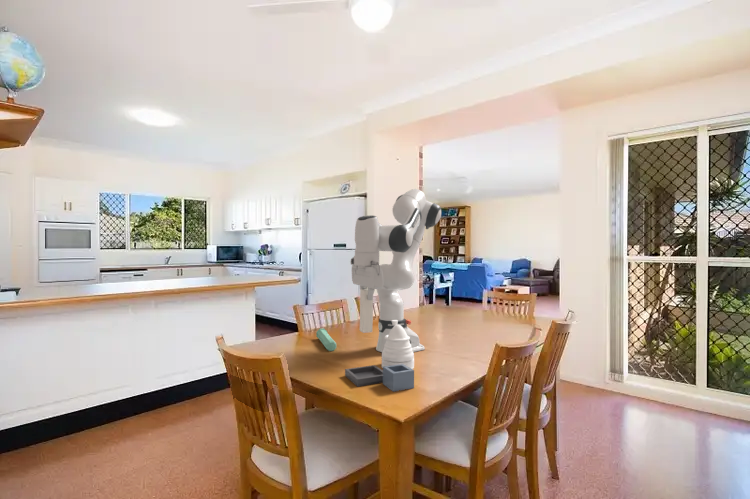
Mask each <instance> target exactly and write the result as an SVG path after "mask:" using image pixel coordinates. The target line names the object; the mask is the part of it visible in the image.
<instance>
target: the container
mask: <svg viewBox="0 0 750 499" xmlns="http://www.w3.org/2000/svg"><path fill="white" fill-rule="evenodd" d="M315 333H316V338H317V339H318V340H319V341H320V342H321V343H322V345H323V346H324V347H325V349H326V350H327V351H328V352H334V351H335V350H336V349H337V342H336V341H335V340H334V339H333V338H332V336H330V334H329V333H328V330H326V329H325V328H324V327H322V328H319V329H317V331H316V332H315Z"/></svg>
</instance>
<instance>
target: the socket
mask: <svg viewBox="0 0 750 499" xmlns="http://www.w3.org/2000/svg"><path fill="white" fill-rule="evenodd" d="M382 370H383V383H382V385H384V386H385V387H386V388H387V389H389V390H390V391H392V392H399V390H400V391H405V389H406V390H409V389H410V390H411V389H414V388H415V370H414V368H413V369H411V368H409V367H407V366H406V365H404V364H398V365H391V366H384V367H383V368H382Z"/></svg>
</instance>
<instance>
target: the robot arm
mask: <svg viewBox="0 0 750 499" xmlns="http://www.w3.org/2000/svg"><path fill="white" fill-rule="evenodd" d="M392 215H393V217H394V219H395V220H396V222H397V223H399V224H396V225H395V224H394V225H382V224H381V223H380V222H379V219H378V216H376V215H363V216H359V217H358V218H357V219H356V221H355V228H354V242H355V249H354V255H353V257H352V258H351V259H350V265H351V281H352V283H353V284H354V285H357V286H359V290H360V289H368V295H367V300H373V301H374V293H375V290H376V292H377V296H378V303H379V318H378V324H377V325H378V337H377V344H376V348H375V350H376V351H378V352H380V353H382V352H383V348H384V345H385V343H386V339H385V336H386V335H389V333H390V331H391V330H392V328H393V327H394V326H395V325H393V324H392V320H398V323H397V324H398V325H401V326H402V327H403V328H404V330H405V332H406V334H407V336H409V337H410V339H409V341H410V344H411V348H412V351H413V353H414V352H420V351H425V346H424V345H423V344H421V343H420V337H419V335H418V334H417V333H416V332H415V331H414V330H413V329H411V328H410V327H409V326H408V325H411V324H412V321H411V320H410V319H405V318H404V317H405V316H404V314H405V313H404V312H405V309H404V308H405V303H404V300H403V298H402V297H401V295H400V293H399V291H403V290H408V289H410V288H412V286H413V284H414V282H415V274H414V271H413V263H414V259H415V256H416V254H417V251H418V249H419V248H420V245H421V243H422V240H423V237H424V235H425V231H426V230H429V229H430V228H432V227H435V226H436V225H437V224H438V222H439V221H440V220H441V217H442V207H441V206H440V205H439V204H437V203H436V202H434V203H433V202H431V201H429V200H427V197H426V194H425V193H424V192H423V191H422V190H420V189H419V188H418V189H417V188H413V189H410V190H408V191H406V192H405V193H403V194H401V195H399V196H398V197H397V198H396V200H395V202H394V204H393V206H392ZM380 252H391V253H392V255H393V256H392V261H391V263H390V264H388V263H383V264H380Z"/></svg>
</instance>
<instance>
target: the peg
mask: <svg viewBox="0 0 750 499" xmlns="http://www.w3.org/2000/svg"><path fill="white" fill-rule="evenodd" d="M359 291H360V293H359V294H360V296H359V297H360V298H359V331H360V332H361V333H362V334H365V333H373V325H374V324H373V317H374V316H373V314H374V299H373V300H367V295H368V288H366V289H360V288H359Z"/></svg>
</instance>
